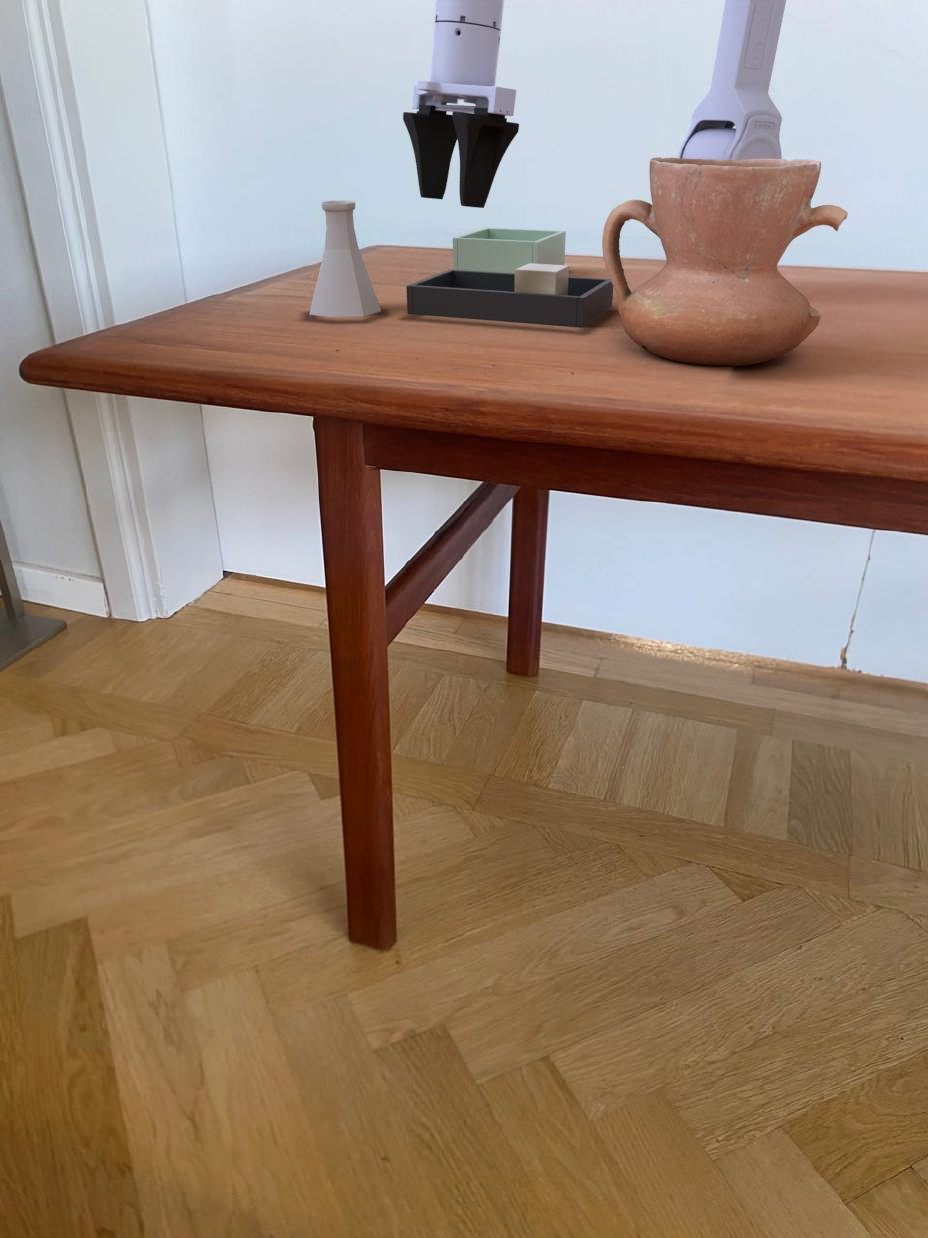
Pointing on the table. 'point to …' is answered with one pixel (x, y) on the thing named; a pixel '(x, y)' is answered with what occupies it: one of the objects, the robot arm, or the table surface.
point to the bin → (507, 249)
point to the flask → (342, 269)
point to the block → (542, 279)
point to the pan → (507, 299)
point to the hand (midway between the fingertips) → (451, 202)
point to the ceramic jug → (720, 259)
